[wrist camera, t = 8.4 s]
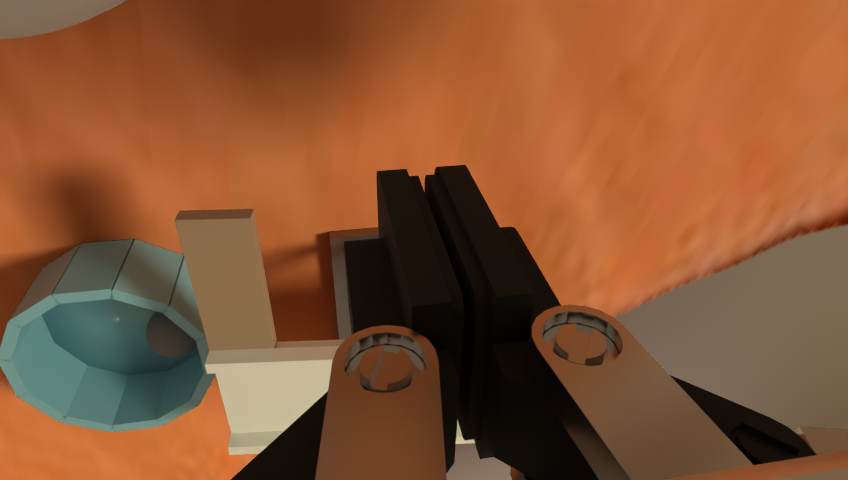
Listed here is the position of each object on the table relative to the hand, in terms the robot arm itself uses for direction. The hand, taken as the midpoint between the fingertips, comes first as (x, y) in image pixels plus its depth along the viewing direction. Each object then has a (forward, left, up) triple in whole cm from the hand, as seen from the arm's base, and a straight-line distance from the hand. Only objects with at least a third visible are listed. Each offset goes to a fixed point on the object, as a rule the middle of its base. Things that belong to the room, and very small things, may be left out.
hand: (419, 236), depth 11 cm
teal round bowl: (+18, +24, -29) cm, 42 cm away
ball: (+14, +24, -26) cm, 38 cm away
